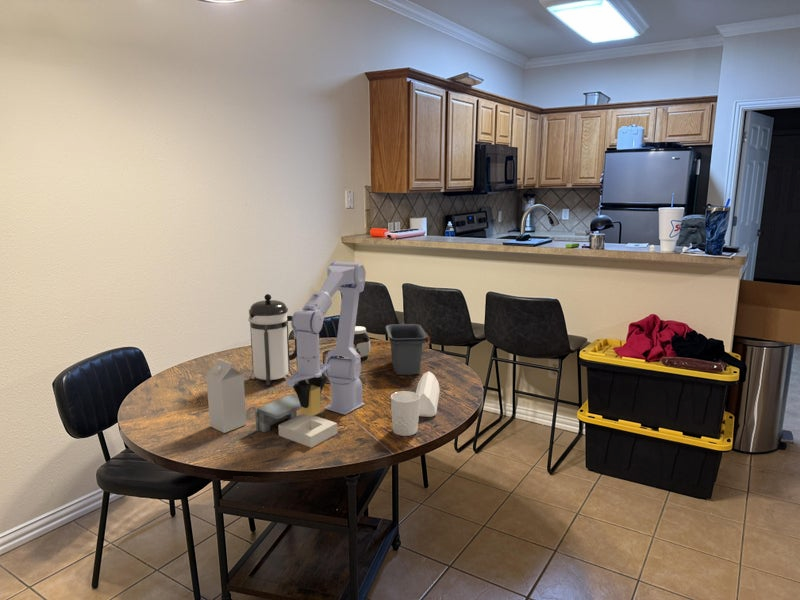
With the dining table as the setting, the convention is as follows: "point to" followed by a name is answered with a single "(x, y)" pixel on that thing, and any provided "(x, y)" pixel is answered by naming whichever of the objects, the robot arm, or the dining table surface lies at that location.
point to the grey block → (276, 412)
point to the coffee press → (270, 340)
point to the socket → (307, 429)
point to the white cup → (405, 412)
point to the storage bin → (406, 347)
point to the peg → (313, 402)
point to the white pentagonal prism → (428, 394)
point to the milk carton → (226, 397)
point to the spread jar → (361, 342)
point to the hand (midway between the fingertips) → (309, 404)
